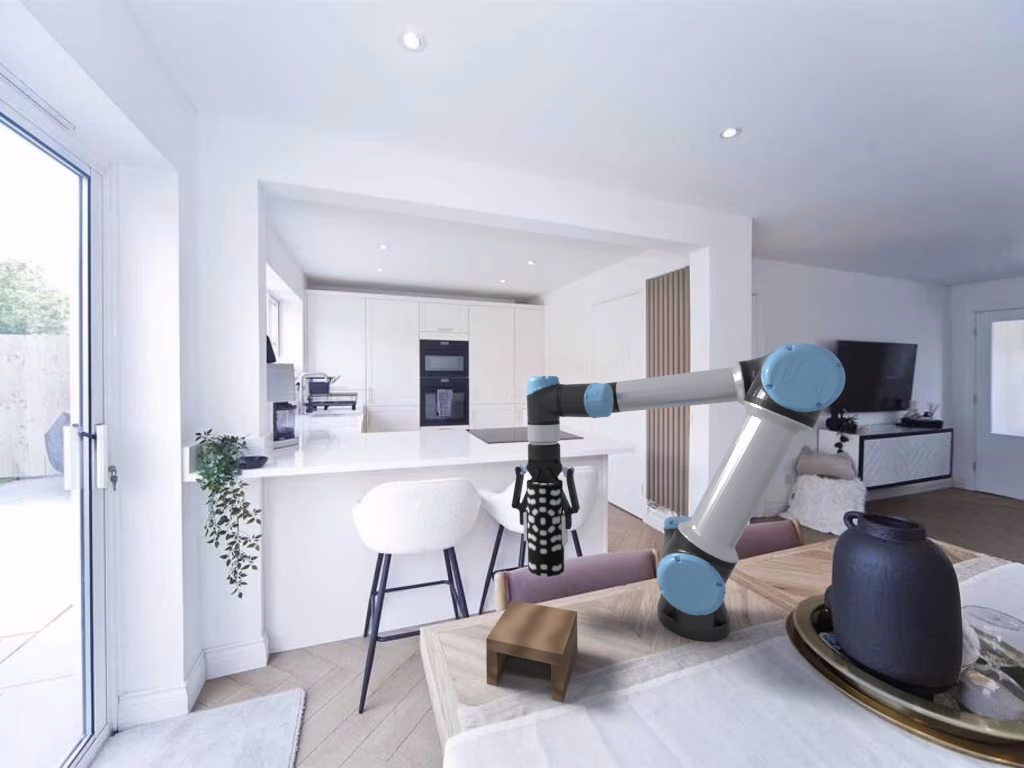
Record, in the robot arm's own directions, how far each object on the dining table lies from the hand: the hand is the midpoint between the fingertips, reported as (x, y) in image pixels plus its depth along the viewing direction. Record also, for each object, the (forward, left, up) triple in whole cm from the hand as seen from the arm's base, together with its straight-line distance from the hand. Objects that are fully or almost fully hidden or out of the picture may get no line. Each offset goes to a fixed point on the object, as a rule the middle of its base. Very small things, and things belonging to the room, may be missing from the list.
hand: (545, 540), depth 93 cm
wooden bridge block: (-2, +16, -18) cm, 24 cm away
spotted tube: (0, 0, -7) cm, 7 cm away
